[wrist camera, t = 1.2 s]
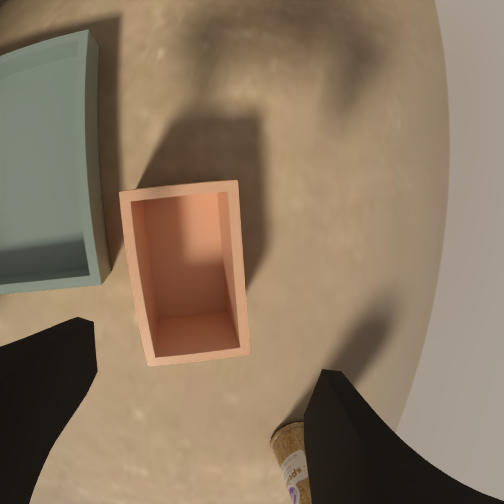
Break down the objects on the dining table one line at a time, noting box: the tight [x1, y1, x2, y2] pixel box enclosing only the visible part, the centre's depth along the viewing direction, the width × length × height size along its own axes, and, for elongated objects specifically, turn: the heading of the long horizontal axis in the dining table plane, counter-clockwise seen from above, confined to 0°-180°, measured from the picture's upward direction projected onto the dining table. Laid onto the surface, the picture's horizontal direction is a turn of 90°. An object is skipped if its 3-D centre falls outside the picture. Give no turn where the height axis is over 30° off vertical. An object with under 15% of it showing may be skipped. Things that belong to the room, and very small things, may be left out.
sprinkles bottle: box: [270, 422, 312, 504], centre depth 20 cm, size 5×5×14 cm
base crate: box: [0, 29, 112, 294], centre depth 15 cm, size 12×15×3 cm
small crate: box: [119, 180, 250, 366], centre depth 18 cm, size 6×9×6 cm, turn 4°
